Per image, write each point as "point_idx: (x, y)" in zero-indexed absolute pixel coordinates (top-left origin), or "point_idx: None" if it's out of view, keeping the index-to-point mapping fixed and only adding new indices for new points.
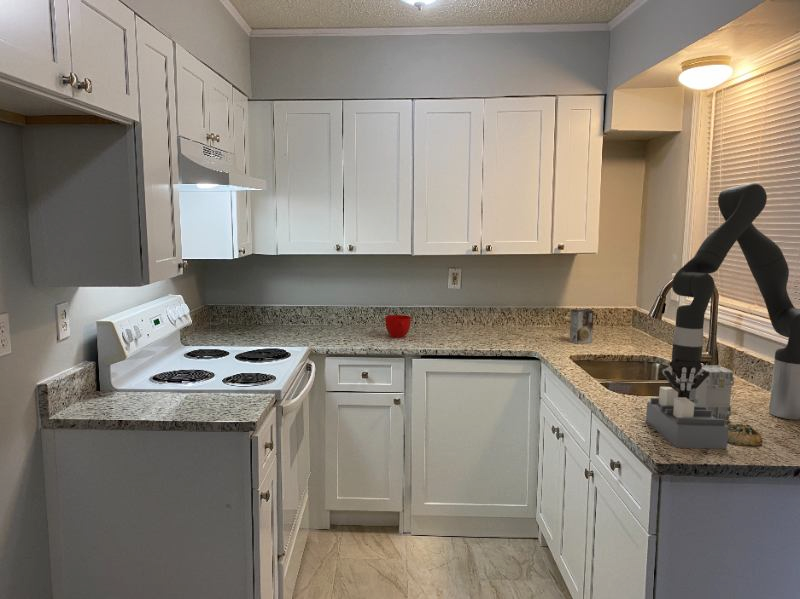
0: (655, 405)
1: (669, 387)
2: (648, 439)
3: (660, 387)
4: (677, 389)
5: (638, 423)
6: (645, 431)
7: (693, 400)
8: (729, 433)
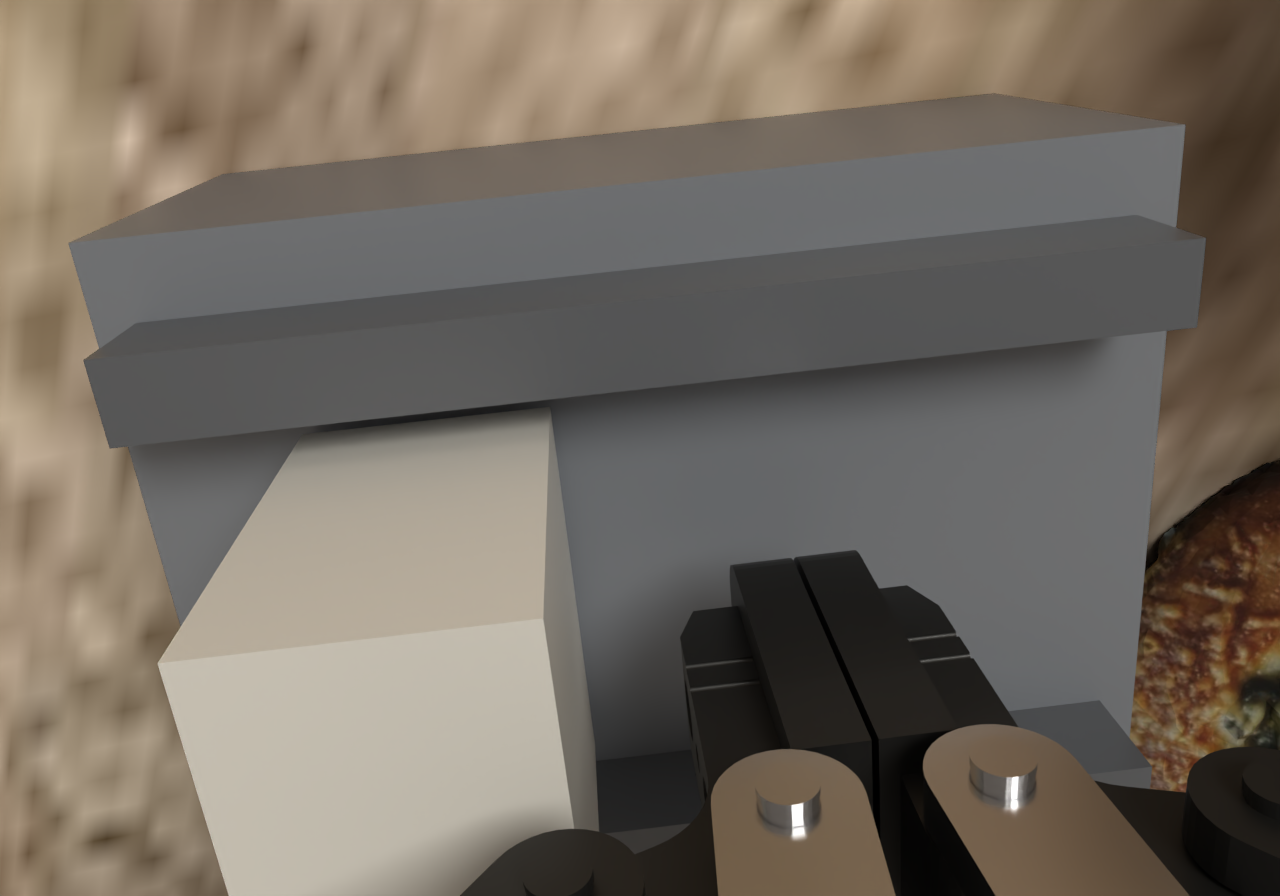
0: (223, 518)
1: (490, 686)
2: (152, 893)
3: (176, 705)
4: (707, 789)
5: (81, 319)
6: (151, 643)
7: (1176, 319)
8: None
